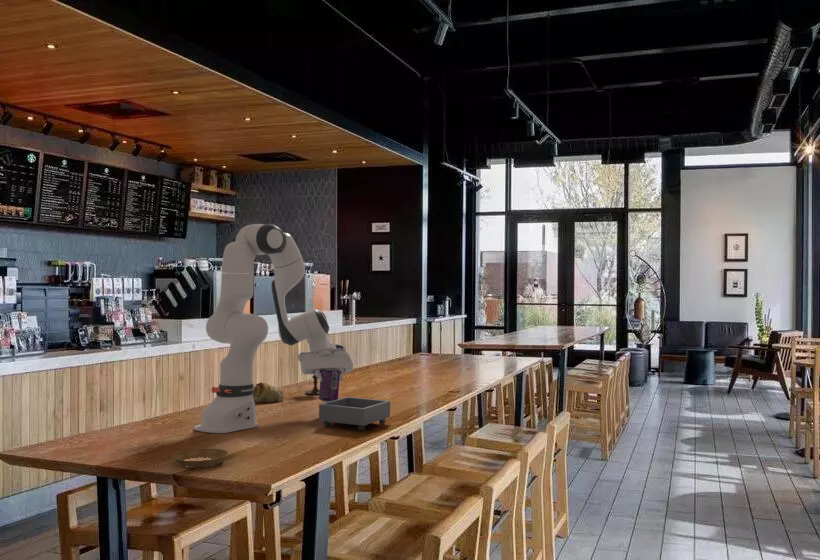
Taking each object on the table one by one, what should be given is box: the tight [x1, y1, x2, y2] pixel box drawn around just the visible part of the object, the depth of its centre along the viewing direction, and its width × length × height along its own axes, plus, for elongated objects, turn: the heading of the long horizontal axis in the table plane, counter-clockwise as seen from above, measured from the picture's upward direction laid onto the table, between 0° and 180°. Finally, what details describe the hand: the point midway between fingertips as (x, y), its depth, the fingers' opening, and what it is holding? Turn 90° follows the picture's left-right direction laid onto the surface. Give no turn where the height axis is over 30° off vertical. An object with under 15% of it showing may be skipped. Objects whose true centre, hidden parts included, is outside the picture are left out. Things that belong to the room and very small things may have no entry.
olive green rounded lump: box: [253, 382, 284, 404], centre depth 310 cm, size 14×12×8 cm
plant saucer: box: [173, 448, 229, 468], centre depth 207 cm, size 15×15×3 cm
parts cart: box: [318, 396, 391, 432], centre depth 260 cm, size 18×18×8 cm
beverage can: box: [318, 368, 340, 403], centre depth 277 cm, size 7×7×12 cm
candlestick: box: [304, 374, 320, 396], centre depth 329 cm, size 11×11×35 cm
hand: (331, 380), depth 277 cm, fingers closed on beverage can, 6 cm apart
